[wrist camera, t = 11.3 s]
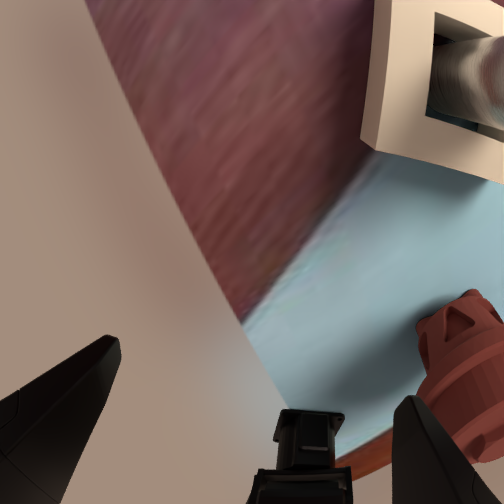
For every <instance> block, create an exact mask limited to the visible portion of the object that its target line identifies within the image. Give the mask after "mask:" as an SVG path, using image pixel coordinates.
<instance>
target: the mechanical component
mask: <svg viewBox="0 0 504 504" xmlns="http://www.w3.org/2000/svg"><path fill="white" fill-rule="evenodd" d="M416 331H417V334H418V336H419V342H418V348H419V352H420V355H421V358H422V361H423V364H424V367H425V370H426V373H427V376H426V378H425V379H424V380H423V382H422V384H421V385H420V387H419V389H418V391H417V394H416V396H419V397H420V398H421V399H422V400H423V401H424V403H425V404H426V405H427V406H428V408H429V409H430V410H431V412H432V413H433V414H434V416H435V417H436V418H437V420H438V421H439V422H440V423H441V425H442V426H443V427H444V429H445V430H446V431H447V433H448V434H449V435H450V437H451V438H452V439H453V441H454V442H455V443H456V445H457V446H458V447H459V449H460V450H461V451H462V453H463V454H464V455H465V457H466V458H467V460H468V461H469V462H470V464H474V463H478V462H481V463H486V462H490V461H493V460H496V459H498V458H500V457H503V456H504V322H503V321H502V319H501V318H500V316H499V315H498V313H497V312H496V310H495V309H494V307H493V306H492V304H491V303H490V302H489V301H488V300H487V299H485V298H483V297H482V295H481V294H480V293H479V291H478V290H477V289H471V290H469V291H467V292H466V293H465V294H464V295H463V296H462V298H459V299H457V300H454V301H452V302H450V303H449V304H447V305H445V306H444V307H442V308H441V309H440V310H438V311H437V312H436V313H435V314H434V315H433V316H430V317H427V318H424V319H422V320H420V321H419V322H418V323H417V325H416Z"/></svg>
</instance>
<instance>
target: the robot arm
mask: <svg viewBox="0 0 504 504" xmlns="http://www.w3.org/2000/svg"><path fill="white" fill-rule="evenodd" d="M120 362H121V350H120V342H119V339H118V338H117V337H113V336H111V335H104V336H102V337H101V338H99V339H97V340H96V341H94V342H93V343H91V344H90V345H88V346H86V347H85V348H83V349H82V350H80V351H78V352H77V353H75V354H74V355H72V356H70V357H69V358H67V359H66V360H64V361H62V362H61V363H59V364H58V365H56V366H55V367H53V368H51V369H50V370H49V371H47V372H45V373H44V374H42V375H40V376H39V377H37V378H36V379H34V380H33V381H31V382H30V383H28V384H26V385H25V386H23V387H22V388H20V390H17V391H15V392H14V393H12V394H10V395H9V396H7V397H5V398H4V399H2V400H1V401H0V504H60V503H61V500H62V498H63V495H64V493H65V491H66V488H67V486H68V484H69V482H70V479H71V477H72V475H73V472H74V470H75V468H76V466H77V463H78V461H79V459H80V457H81V455H82V452H83V450H84V448H85V446H86V444H87V442H88V439H89V437H90V435H91V433H92V431H93V429H94V427H95V425H96V423H97V420H98V418H99V416H100V414H101V412H102V410H103V408H104V406H105V404H106V401H107V398H108V396H109V393H110V390H111V387H112V384H113V382H114V379H115V376H116V373H117V370H118V368H119V365H120ZM344 420H345V415H344V414H339V413H323V412H311V411H300V410H290V409H283V410H281V412H280V416H279V419H278V423H277V426H276V430H275V433H274V437H273V441H274V442H277V443H279V446H278V456H277V465H276V470H265V469H258V473H257V475H255V476H254V482H253V486H252V490H251V493H250V496H249V498H248V500H247V502H246V504H353V491H352V476H351V466H345V467H342V468H335V436H336V434H337V432H338V431H339V429H340V427H341V425H342V423H343V422H344ZM392 504H502V503H501V502H500V501H499V500H498V499H497V498H496V496H495V495H494V494H493V493H492V492H491V490H490V489H489V488H488V487H487V485H486V484H485V483H484V481H482V479H481V477H480V476H479V475H478V473H477V472H476V471H475V469H474V468H473V467H472V465H471V464H470V462H469V461H468V460H467V458H466V457H465V455H464V454H463V453H462V451H461V450H460V449H459V447H458V446H457V445H456V443H455V442H454V441H453V439H452V438H451V437H450V435H449V434H448V433H447V431H446V430H445V429H444V427H443V426H442V425H441V423H440V422H439V421H438V420H437V418H436V417H435V416H434V414H433V413H432V412H431V410H430V409H429V408H428V406H427V405H426V404H425V403H424V401H423V400H422V399H421V398H420V397H419V396H416V395H408V396H406V397H405V398H404V400H403V401H402V402H401V403H400V404H399V406H398V407H397V408H396V410H395V412H394V419H393V440H392Z"/></svg>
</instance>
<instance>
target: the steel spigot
mask: <svg viewBox="0 0 504 504" xmlns="http://www.w3.org/2000/svg"><path fill="white" fill-rule="evenodd" d="M427 104H428V105H429V106H430V107H431V108H432V109H434V110H435V111H437V112H439V113H442V114H445V115H449V116H453V117H458V118H461V119H465V120H469V121H473V122H476V123H480V124H484V125H487V126H490V127H494V128H497V129H500V130H503V131H504V35H503V36H495V37H487V38H480V39H473V40H467V41H461V42H455V43H450V44H444V45H439V46H434V47H433V51H432V63H431V73H430V82H429V90H428V98H427Z"/></svg>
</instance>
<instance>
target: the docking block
mask: <svg viewBox="0 0 504 504" xmlns="http://www.w3.org/2000/svg"><path fill="white" fill-rule="evenodd" d="M434 33H435V34H438V35H441V36H443V37H446V38H449V39H451V40H454V41H456V42H461V41H467V40H473V39H480V38H487V37H495V36H503V35H504V8H503V7H501V6H499V5H497V4H496V3H494V2H492V1H490V0H375V3H374V19H373V32H372V44H371V55H370V65H369V74H368V83H367V91H366V99H365V106H364V114H363V121H362V127H361V134H360V139H361V140H362V141H364V142H365V143H366V144H368V145H369V146H370V147H372V148H373V149H374V150H377V151H382V152H387V153H391V154H396V155H400V156H405V157H409V158H413V159H417V160H421V161H425V162H429V163H433V164H437V165H441V166H444V167H448V168H452V169H455V170H459V171H462V172H466V173H469V174H472V175H476V176H479V177H482V178H485V179H488V180H491V181H494V182H497V183H500V184H503V185H504V131H503V130H500V129H497V128H494V127H490V126H487V125H484V124H480V123H478V128H477V133H476V132H473V131H470V130H468V129H465V128H462V127H459V126H456V125H453V124H450V123H447V122H443V121H440V120H437V119H433V118H430V117H427V116H425V112H426V105H427V98H428V90H429V82H430V73H431V63H432V51H433V37H434Z"/></svg>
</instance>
